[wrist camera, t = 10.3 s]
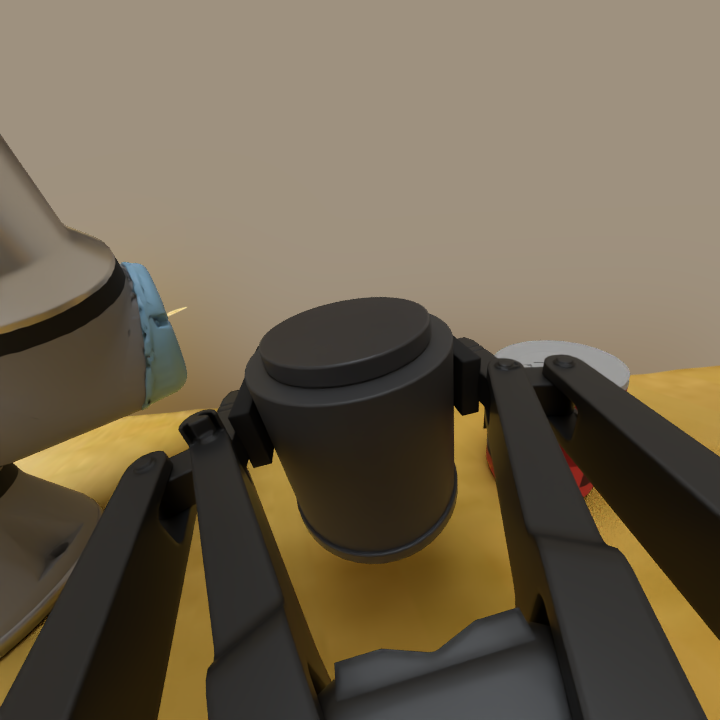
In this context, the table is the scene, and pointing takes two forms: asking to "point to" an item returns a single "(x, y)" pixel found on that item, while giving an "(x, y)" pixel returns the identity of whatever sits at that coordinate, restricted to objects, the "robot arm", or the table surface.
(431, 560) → the table surface
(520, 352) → the canned food
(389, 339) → the cap
